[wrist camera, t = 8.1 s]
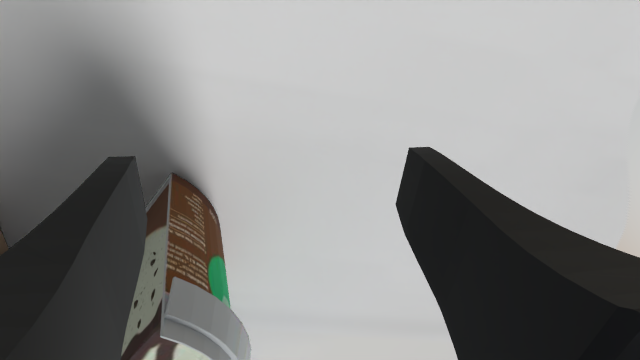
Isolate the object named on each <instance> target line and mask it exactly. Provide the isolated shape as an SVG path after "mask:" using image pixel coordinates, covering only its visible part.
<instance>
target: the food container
mask: <svg viewBox="0 0 640 360" xmlns="http://www.w3.org/2000/svg"><path fill="white" fill-rule="evenodd" d="M145 209H146V214H147V229H146V240H145V250H144V256H143V260H142V265H141V269H140V273H139V277H138V282H137V286H136V290H135V294H134V298H133V302H132V306H131V311H130V315H129V319H128V323H127V327H126V331H125V337H124V342H123V347H122V354H121V360H250V356H251V346H250V341H249V336H248V334H247V332H246V330H245V328H244V326H243V324H242V322H241V321H240V320H239V318H238V317H237V316H236V315H235V314H234V312H233V311H232V310H231V309H230V301H229V293H228V285H227V277H226V269H225V261H224V253H223V245H222V237H221V230H220V224H219V220H218V216H217V214H216V212H215V210H214V208H213V206H212V205H211V203H210V202H209V201H208V199H207V198H206V197H205V196H204V195H203V194H202V193H201V192H200V191H199V190H198V189H197V188H196V187H195V186H193V185H192V184H190V183H189V182H188V181H186V180H185V179H183V178H181V177H179V176H177V175H176V174H174V173H171V174H170V176H169V177H168V178H167V180H166V181H165V182H164V184H163V185H162V186H161V188H160V189H159V190H158V192H157V193H156V194H155V196H154V197H153V198H152V200H151V201H150V202H149V204H148V205H147V207H146V208H145Z"/></svg>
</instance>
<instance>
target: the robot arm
mask: <svg viewBox="0 0 640 360" xmlns="http://www.w3.org/2000/svg"><path fill="white" fill-rule="evenodd" d="M396 207H397V211H398V214H399V217H400V221H401V224H402V227H403V230H404V233H405V236H406V238H407V240H408V242H409V244H410V246H411V248H412V251H413V253H414V255H415V257H416V259H417V261H418V263H419V265H420V267H421V269H422V271H423V273H424V275H425V277H426V279H427V282H428V284H429V286H430V288H431V290H432V292H433V294H434V296H435V298H436V300H437V303H438V305H439V307H440V309H441V312H442V314H443V317H444V320H445V323H446V325H447V328H448V331H449V334H450V337H451V340H452V342H453V345H454V348H455V351H456V354H457V358H458V360H640V258H639V257H636V256H633V255H630V254H627V253H624V252H622V251H619V250H616V249H614V248H611V247H608V246H606V245H603V244H601V243H598V242H596V241H594V240H591V239H589V238H586V237H584V236H582V235H579V234H577V233H575V232H572V231H570V230H568V229H566V228H564V227H562V226H559V225H558V224H556V223H554V222H552V221H550V220H548V219H546V218H544V217H542V216H540V215H538V214H536V213H534V212H532V211H530V210H528V209H527V208H525V207H523V206H521V205H520V204H518V203H516V202H515V201H513V200H511V199H510V198H508V197H506V196H504V195H503V194H501V193H500V192H498V191H496V190H495V189H493V188H492V187H490V186H489V185H487V184H486V183H484V182H483V181H481V180H480V179H478V178H477V177H475V176H474V175H472V174H471V173H469V172H468V171H466V170H465V169H463V168H462V167H460V166H459V165H457V164H456V163H454V162H453V161H451V160H450V159H448V158H447V157H445V156H444V155H442V154H441V153H439V152H437V151H436V150H434V149H432V148H430V147H416V148H409V150H408V155H407V159H406V163H405V167H404V171H403V176H402V180H401V184H400V188H399V192H398V197H397V201H396ZM146 229H147V214H146V209H145V204H144V199H143V194H142V189H141V184H140V179H139V174H138V169H137V164H136V159H135V156H131V157H108V158H107V159H106V160H105V161H104V162H103V163H102V164H101V165H100V166H99V167H98V168H97V169H96V170H95V171H94V172H93V173H92V174H91V175H90V176H89V177H88V178H87V179H86V181H85V182H84V183H83V184H82V185H81V186H80V187H79V188H78V189H77V190H76V191H75V192H74V193H73V194H72V195H71V196H70V197H69V198H67V199H66V200H65V201H64V202H63V203H62V204H61V205H60V206H59V207H58V208H57V209H56V210H55V211H54V212H53V213H52V214H50V215H49V216H48V217H47V218H46V219H45V220H44V221H42V222H41V223H40V224H39V225H38V226H37V227H36V228H35V229H33V230H32V231H31V232H30V233H29V234H28V235H26V236H25V237H24V238H23V239H21V240H20V241H19V242H18V243H16V244H15V245H14V246H12V247H11V248H10V249H8V250H7V251H6V252H4V253H3V254H2V255H0V360H121V354H122V347H123V342H124V337H125V331H126V327H127V323H128V319H129V315H130V311H131V306H132V302H133V298H134V294H135V290H136V286H137V282H138V277H139V273H140V269H141V265H142V260H143V256H144V250H145V240H146Z"/></svg>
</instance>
